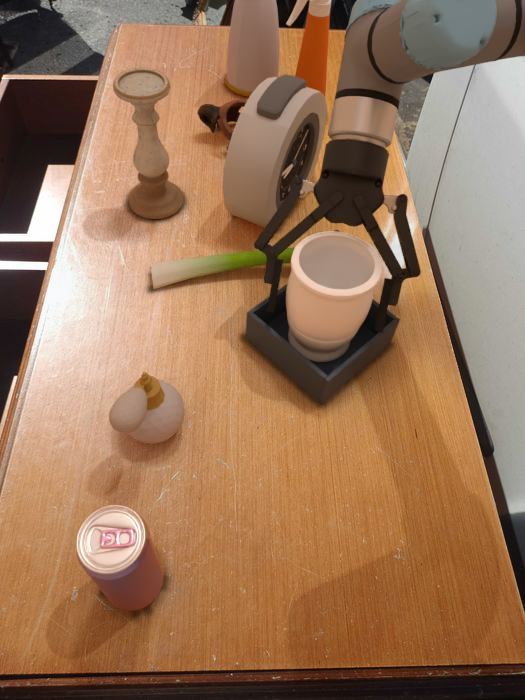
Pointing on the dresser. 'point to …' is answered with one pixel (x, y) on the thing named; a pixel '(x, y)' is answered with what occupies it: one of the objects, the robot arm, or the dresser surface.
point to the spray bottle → (313, 43)
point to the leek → (209, 265)
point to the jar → (329, 292)
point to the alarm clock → (273, 147)
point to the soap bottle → (252, 45)
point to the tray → (311, 375)
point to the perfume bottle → (148, 410)
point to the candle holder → (149, 144)
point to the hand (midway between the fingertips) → (324, 321)
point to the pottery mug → (221, 116)
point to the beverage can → (120, 556)
